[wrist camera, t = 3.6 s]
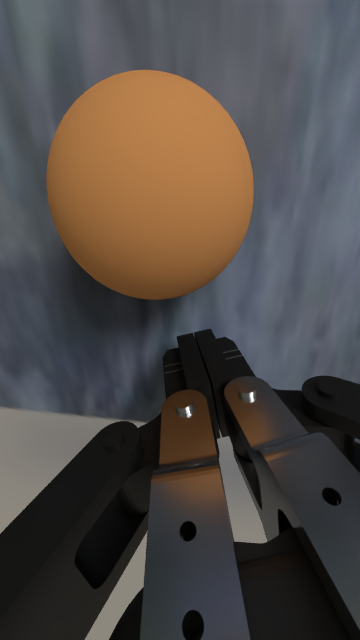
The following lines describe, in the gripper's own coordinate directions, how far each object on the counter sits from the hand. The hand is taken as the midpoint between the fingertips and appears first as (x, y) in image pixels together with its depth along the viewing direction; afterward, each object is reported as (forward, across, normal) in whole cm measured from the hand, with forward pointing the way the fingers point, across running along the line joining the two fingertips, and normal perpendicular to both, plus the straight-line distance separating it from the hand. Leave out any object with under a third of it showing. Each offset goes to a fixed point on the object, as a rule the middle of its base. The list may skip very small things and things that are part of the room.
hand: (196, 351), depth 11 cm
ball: (-1, 0, -6) cm, 6 cm away
